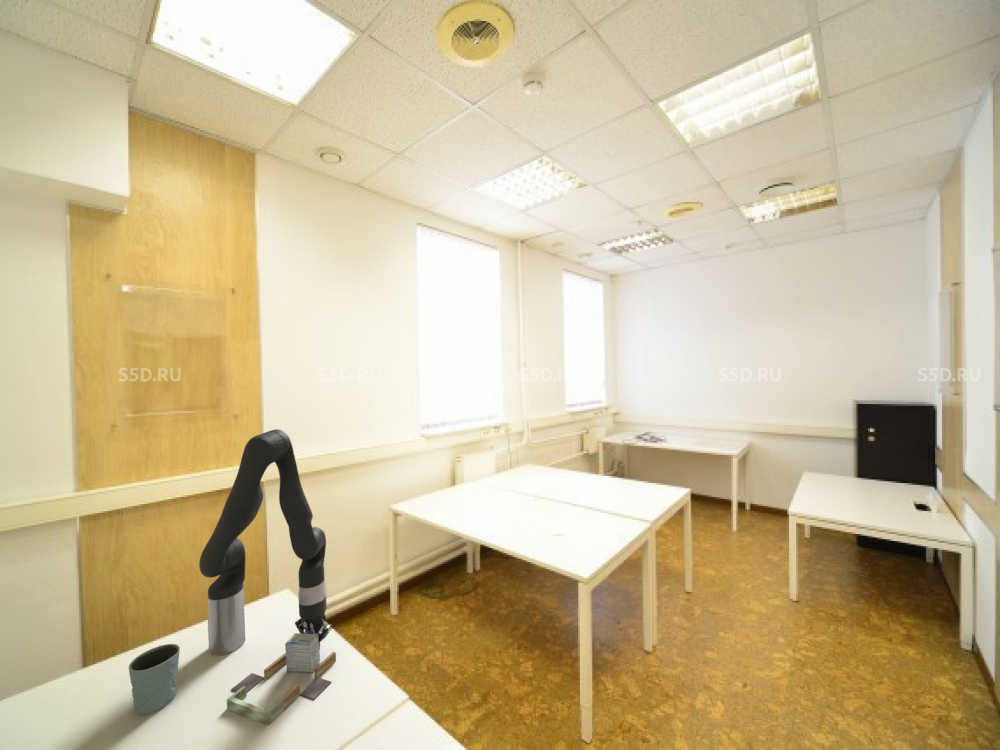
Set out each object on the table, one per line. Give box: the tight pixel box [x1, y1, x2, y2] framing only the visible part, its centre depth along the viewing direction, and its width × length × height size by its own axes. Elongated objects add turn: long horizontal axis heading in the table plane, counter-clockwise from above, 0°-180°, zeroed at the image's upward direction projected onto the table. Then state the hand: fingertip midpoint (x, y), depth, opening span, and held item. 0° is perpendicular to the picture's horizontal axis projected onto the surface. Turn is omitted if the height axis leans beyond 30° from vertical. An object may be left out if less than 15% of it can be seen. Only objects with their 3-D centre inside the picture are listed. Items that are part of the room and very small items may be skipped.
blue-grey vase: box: [128, 643, 181, 717], centre depth 104 cm, size 10×10×12 cm
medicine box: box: [284, 632, 321, 673], centre depth 115 cm, size 8×4×9 cm, turn 84°
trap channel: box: [226, 651, 337, 726], centre depth 109 cm, size 24×22×2 cm
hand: (314, 653), depth 119 cm, fingers closed
